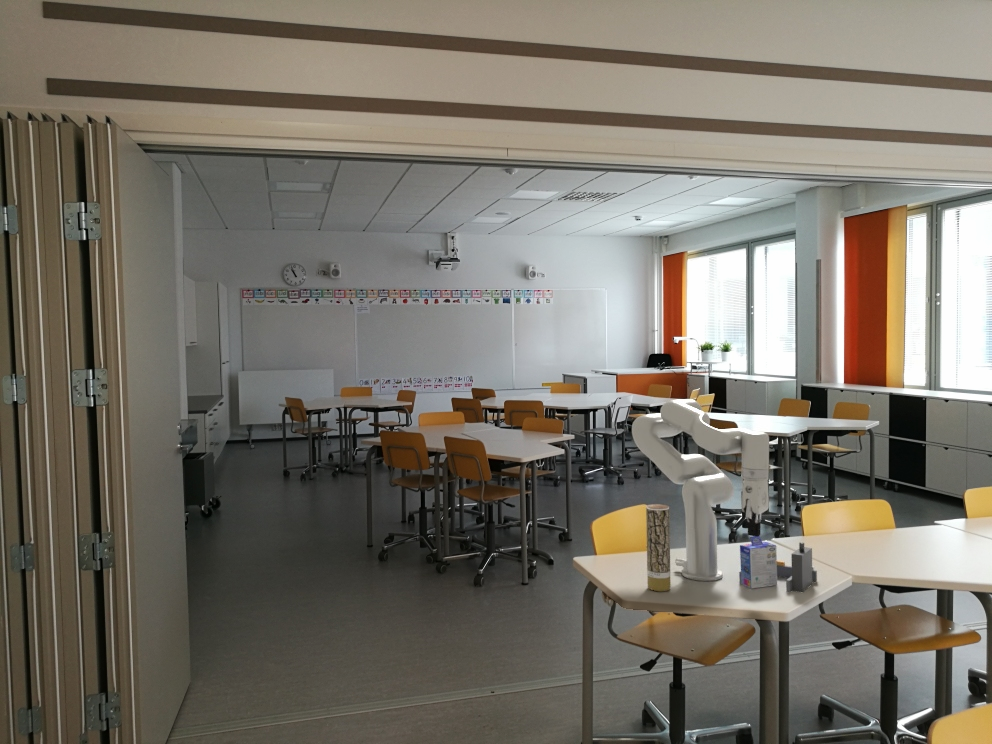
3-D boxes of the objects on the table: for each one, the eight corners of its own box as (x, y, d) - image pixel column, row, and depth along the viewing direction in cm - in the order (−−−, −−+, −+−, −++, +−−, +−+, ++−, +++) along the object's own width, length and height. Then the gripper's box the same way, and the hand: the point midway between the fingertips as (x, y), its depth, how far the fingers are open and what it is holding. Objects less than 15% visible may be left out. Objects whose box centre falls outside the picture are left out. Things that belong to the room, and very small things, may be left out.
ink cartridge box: (766, 580, 222) (765, 533, 222) (778, 585, 217) (778, 538, 216) (739, 583, 219) (738, 536, 218) (751, 589, 213) (750, 541, 213)
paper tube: (666, 593, 211) (664, 509, 211) (644, 590, 215) (642, 507, 214) (673, 587, 217) (672, 505, 217) (652, 584, 220) (650, 503, 220)
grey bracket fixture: (739, 583, 219) (738, 539, 219) (756, 571, 231) (755, 530, 231) (802, 594, 208) (801, 548, 207) (817, 581, 219) (816, 538, 219)
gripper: (758, 479, 201) (757, 543, 202) (776, 471, 213) (775, 532, 214) (732, 475, 206) (731, 538, 207) (751, 468, 218) (750, 528, 219)
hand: (754, 535), depth 210 cm, fingers closed
